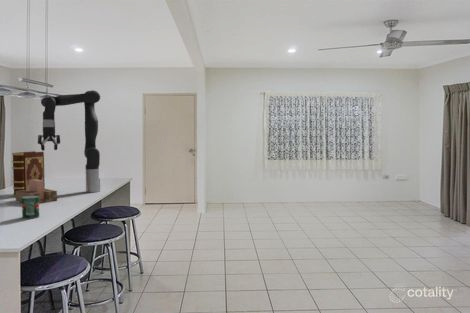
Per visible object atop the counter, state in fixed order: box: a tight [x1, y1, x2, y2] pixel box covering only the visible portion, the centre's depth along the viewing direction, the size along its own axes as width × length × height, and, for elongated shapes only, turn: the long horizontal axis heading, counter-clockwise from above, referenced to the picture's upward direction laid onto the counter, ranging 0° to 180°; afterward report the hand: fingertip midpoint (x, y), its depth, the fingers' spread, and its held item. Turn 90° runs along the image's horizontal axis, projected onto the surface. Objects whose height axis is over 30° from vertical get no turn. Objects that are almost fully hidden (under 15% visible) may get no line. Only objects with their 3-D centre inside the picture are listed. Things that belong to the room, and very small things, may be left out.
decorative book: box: [11, 150, 46, 198], centre depth 253 cm, size 22×8×30 cm, turn 168°
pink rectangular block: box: [29, 179, 45, 200], centre depth 231 cm, size 4×11×12 cm, turn 56°
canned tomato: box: [21, 195, 40, 220], centre depth 188 cm, size 8×8×11 cm
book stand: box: [15, 188, 58, 204], centre depth 231 cm, size 16×20×6 cm
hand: (49, 150), depth 244 cm, fingers open, 8 cm apart
